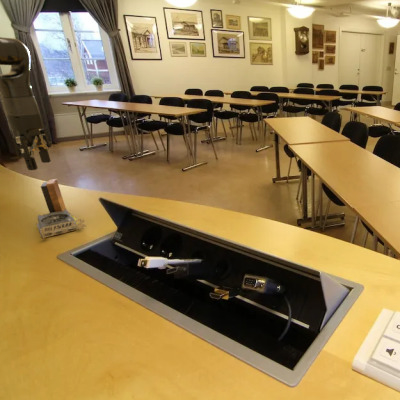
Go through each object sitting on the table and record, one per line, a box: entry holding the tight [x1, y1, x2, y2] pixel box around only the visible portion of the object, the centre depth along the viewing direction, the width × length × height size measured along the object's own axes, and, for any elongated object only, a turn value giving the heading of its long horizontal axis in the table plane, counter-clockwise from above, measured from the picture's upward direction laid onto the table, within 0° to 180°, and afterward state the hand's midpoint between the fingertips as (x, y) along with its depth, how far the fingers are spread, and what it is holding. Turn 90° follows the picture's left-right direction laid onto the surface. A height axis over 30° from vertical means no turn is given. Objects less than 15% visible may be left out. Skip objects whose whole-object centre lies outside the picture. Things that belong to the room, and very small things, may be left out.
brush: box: [40, 178, 67, 213], centre depth 118 cm, size 4×6×13 cm
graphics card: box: [36, 209, 87, 241], centre depth 111 cm, size 17×4×12 cm
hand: (40, 165), depth 100 cm, fingers open, 8 cm apart
